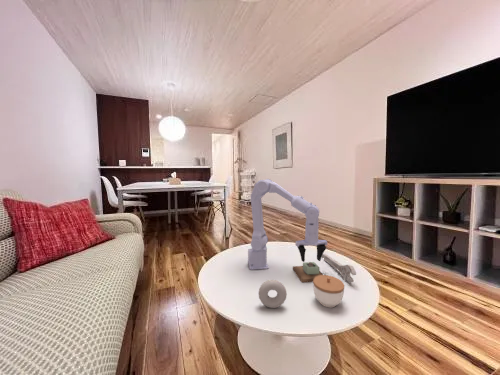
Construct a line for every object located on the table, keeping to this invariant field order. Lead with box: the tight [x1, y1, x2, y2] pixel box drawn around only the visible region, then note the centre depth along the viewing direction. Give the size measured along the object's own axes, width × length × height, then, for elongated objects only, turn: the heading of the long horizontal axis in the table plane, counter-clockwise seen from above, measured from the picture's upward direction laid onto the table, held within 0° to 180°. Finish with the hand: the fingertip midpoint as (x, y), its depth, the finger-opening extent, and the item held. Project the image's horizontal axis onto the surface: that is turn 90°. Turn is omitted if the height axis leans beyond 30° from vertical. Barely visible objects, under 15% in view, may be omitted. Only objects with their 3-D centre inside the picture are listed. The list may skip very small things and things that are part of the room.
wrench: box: [321, 253, 357, 283], centre depth 102 cm, size 8×2×30 cm
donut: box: [258, 279, 288, 309], centre depth 75 cm, size 10×4×10 cm, turn 88°
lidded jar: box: [312, 274, 345, 308], centre depth 78 cm, size 11×11×9 cm
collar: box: [302, 261, 320, 275], centre depth 98 cm, size 6×6×3 cm
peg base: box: [292, 261, 324, 283], centre depth 98 cm, size 11×12×6 cm
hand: (310, 260), depth 98 cm, fingers open, 7 cm apart
